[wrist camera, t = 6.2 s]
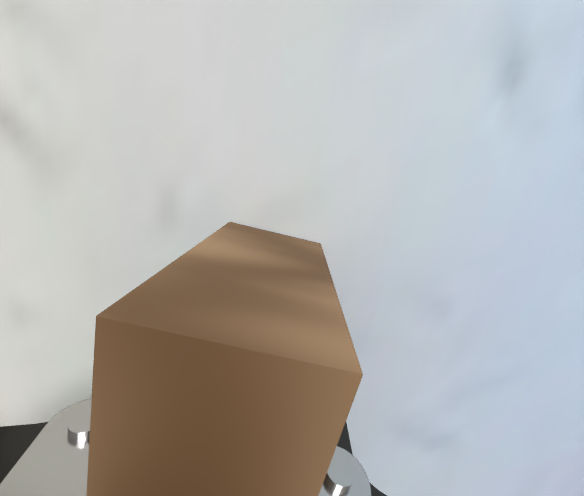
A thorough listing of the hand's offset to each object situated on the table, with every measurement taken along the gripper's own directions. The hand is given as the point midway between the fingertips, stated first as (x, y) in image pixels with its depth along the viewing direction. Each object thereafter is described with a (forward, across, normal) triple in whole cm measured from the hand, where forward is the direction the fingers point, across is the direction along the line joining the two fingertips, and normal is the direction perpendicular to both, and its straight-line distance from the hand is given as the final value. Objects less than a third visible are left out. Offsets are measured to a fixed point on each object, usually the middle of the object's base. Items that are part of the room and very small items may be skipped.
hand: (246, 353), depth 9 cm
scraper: (+1, 0, -1) cm, 1 cm away
